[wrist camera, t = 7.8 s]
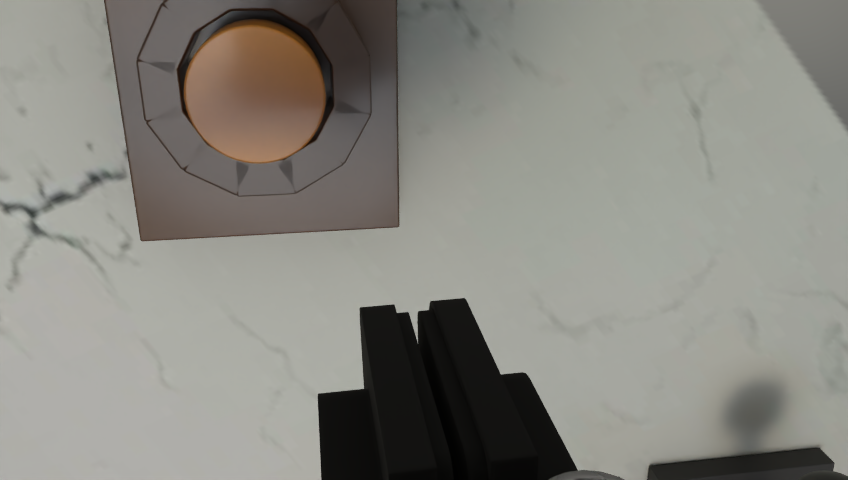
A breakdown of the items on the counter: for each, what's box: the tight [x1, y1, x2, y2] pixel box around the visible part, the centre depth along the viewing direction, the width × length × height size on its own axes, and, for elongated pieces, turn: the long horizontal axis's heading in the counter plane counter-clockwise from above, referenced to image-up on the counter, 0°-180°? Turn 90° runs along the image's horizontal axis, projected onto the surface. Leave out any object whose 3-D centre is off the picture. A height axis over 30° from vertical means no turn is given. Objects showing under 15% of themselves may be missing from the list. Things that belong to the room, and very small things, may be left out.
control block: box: [104, 0, 399, 241], centre depth 25 cm, size 11×9×4 cm
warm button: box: [184, 19, 326, 164], centre depth 22 cm, size 4×4×2 cm
